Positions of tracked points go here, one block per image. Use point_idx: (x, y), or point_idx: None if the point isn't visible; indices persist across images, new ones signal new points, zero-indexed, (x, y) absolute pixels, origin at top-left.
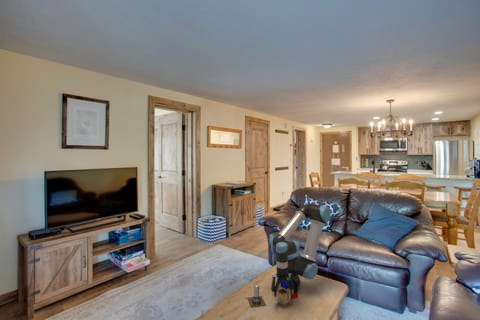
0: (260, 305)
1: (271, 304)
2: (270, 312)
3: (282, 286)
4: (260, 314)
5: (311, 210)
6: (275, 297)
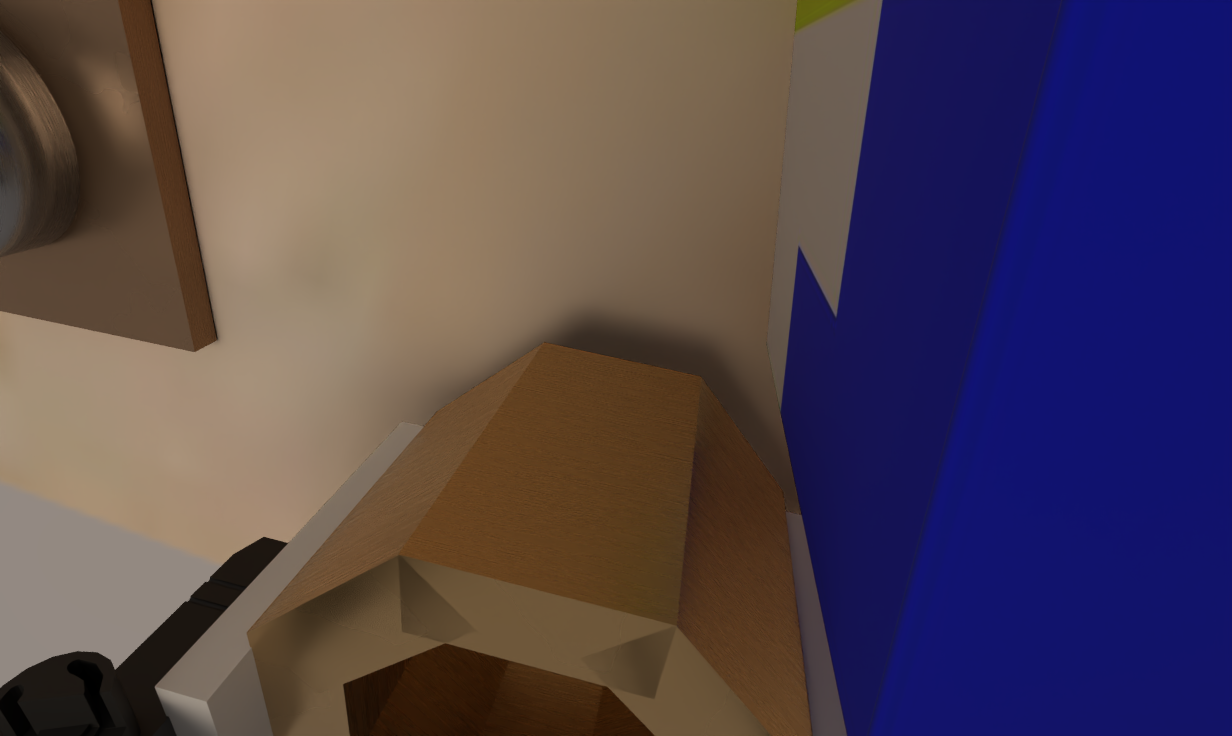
0: (75, 325)
1: (353, 347)
2: (277, 530)
3: (867, 306)
4: (101, 501)
5: None
6: (366, 460)
